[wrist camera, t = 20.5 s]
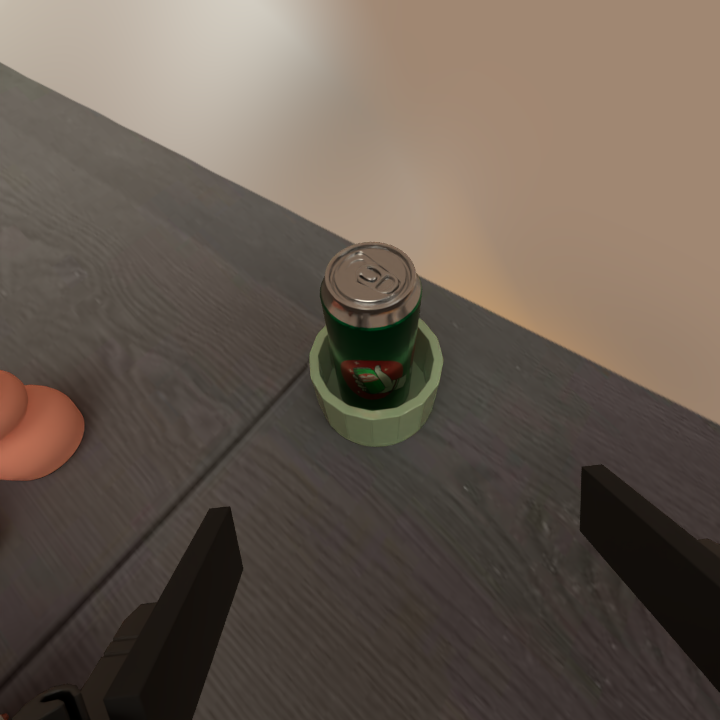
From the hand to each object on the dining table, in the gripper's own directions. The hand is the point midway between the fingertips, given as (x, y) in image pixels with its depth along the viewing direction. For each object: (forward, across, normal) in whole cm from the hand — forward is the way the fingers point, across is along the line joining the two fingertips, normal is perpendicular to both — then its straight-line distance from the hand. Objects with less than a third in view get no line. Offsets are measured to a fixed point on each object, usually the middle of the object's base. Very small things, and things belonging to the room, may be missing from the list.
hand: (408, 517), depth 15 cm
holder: (+15, 0, 0) cm, 15 cm away
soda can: (+15, 0, 0) cm, 15 cm away
